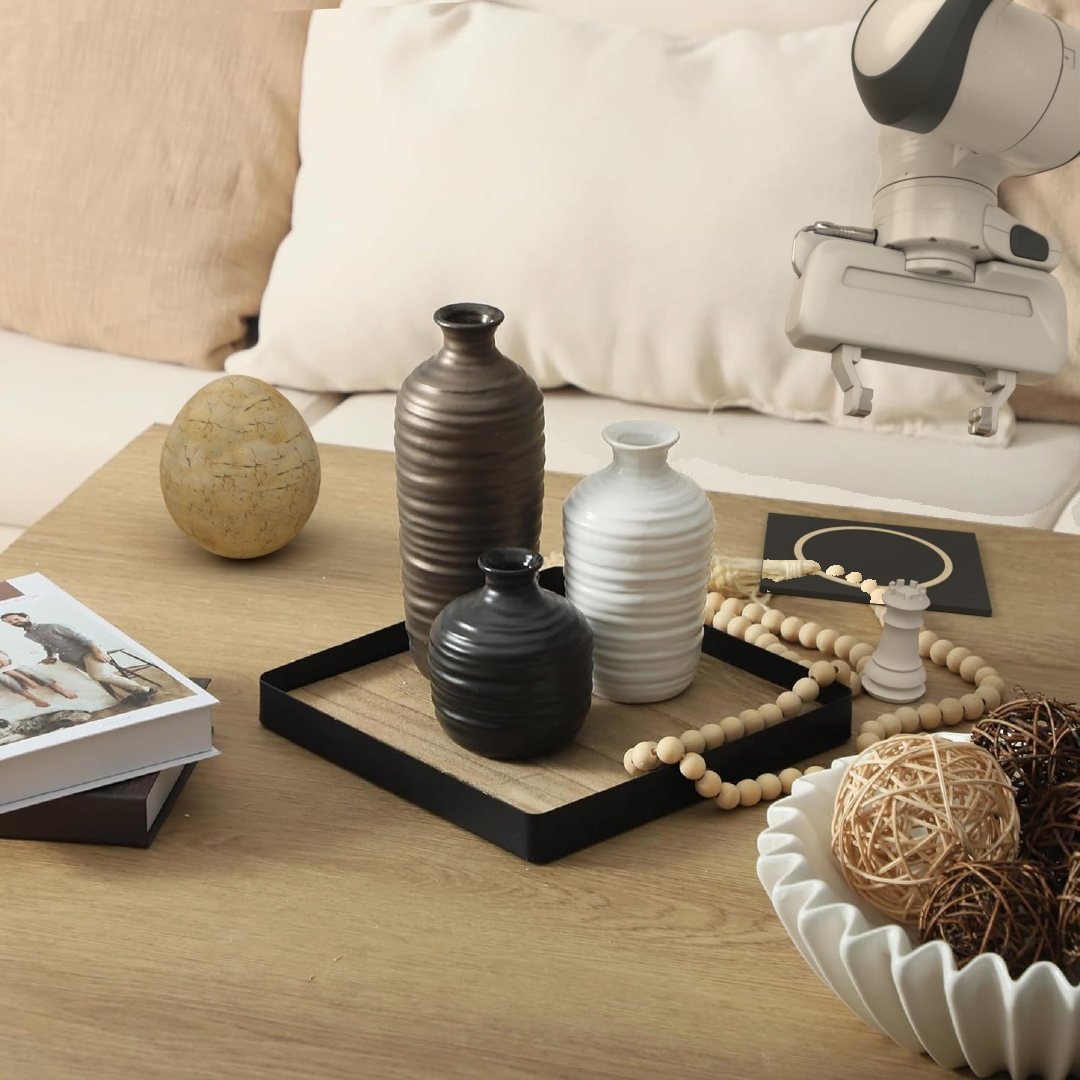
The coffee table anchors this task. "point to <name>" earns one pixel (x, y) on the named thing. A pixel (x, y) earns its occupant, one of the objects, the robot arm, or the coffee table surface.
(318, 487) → the fossilized egg
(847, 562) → the black circle mat
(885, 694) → the rook chess piece
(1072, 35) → the robot arm
